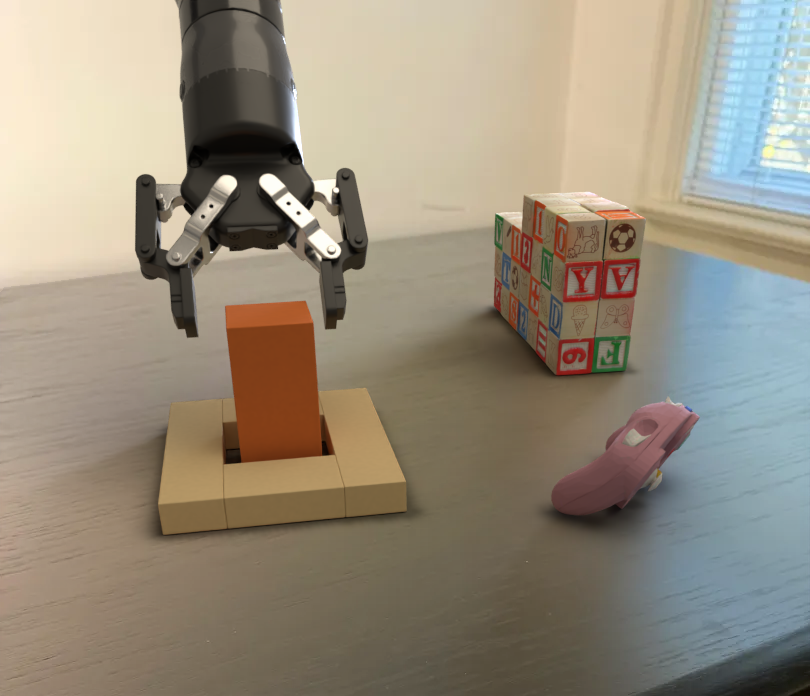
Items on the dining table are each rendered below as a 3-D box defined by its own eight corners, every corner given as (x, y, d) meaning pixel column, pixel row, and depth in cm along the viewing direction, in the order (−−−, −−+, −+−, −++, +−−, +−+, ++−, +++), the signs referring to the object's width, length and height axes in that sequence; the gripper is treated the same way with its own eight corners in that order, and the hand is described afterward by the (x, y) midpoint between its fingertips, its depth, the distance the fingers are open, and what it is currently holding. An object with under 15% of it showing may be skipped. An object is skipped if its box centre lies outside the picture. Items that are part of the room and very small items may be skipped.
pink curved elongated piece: (602, 554, 51) (671, 466, 46) (539, 504, 51) (601, 413, 47) (660, 488, 58) (725, 407, 53) (604, 446, 59) (663, 362, 54)
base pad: (162, 535, 50) (157, 504, 49) (174, 428, 64) (170, 402, 63) (406, 511, 52) (406, 481, 51) (367, 413, 66) (366, 387, 65)
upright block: (244, 485, 55) (226, 327, 50) (241, 453, 60) (224, 305, 55) (323, 478, 56) (313, 322, 51) (316, 447, 60) (305, 300, 55)
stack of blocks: (491, 307, 91) (495, 178, 84) (550, 304, 91) (559, 176, 85) (556, 376, 72) (568, 218, 66) (629, 371, 73) (647, 214, 67)
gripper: (344, 145, 63) (371, 350, 59) (138, 150, 61) (152, 363, 57) (350, 62, 56) (382, 288, 52) (118, 65, 54) (131, 301, 50)
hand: (261, 327), depth 54 cm, fingers open, 8 cm apart
